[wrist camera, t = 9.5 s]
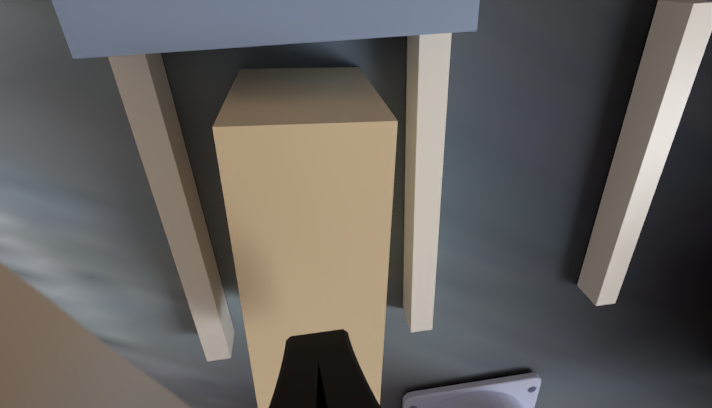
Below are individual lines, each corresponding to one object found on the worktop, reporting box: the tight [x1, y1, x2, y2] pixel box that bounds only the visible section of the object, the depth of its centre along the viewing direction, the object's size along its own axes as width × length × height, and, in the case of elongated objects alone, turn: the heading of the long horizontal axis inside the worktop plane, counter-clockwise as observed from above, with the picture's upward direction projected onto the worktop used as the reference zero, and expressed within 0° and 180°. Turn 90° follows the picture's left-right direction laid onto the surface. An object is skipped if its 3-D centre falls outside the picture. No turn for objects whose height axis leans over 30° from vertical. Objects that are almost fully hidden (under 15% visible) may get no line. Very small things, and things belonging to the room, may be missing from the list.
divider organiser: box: [52, 0, 712, 362], centre depth 15 cm, size 14×19×4 cm
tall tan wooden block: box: [212, 67, 398, 408], centre depth 14 cm, size 10×4×6 cm, turn 179°
